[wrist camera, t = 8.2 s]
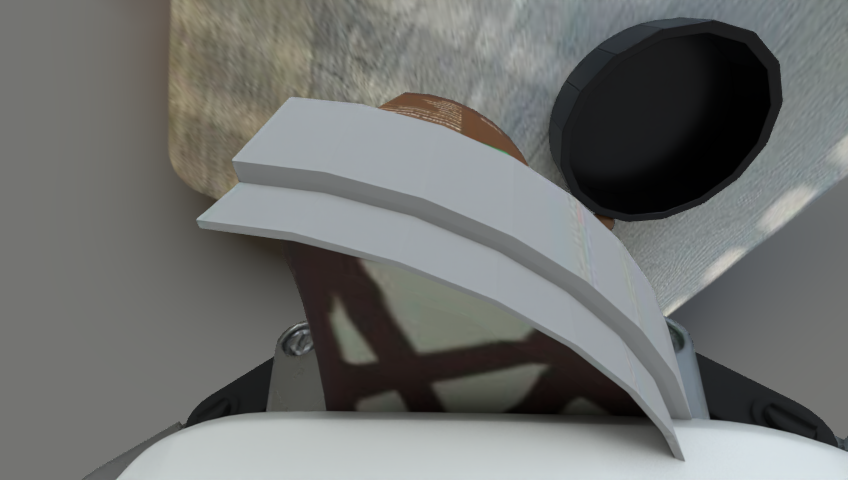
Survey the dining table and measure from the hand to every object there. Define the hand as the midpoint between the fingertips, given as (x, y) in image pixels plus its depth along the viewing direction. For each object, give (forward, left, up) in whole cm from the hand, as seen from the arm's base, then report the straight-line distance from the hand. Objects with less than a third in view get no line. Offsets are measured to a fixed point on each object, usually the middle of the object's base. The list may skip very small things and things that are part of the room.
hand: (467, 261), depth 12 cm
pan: (+5, +11, -18) cm, 22 cm away
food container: (0, +1, -3) cm, 3 cm away
